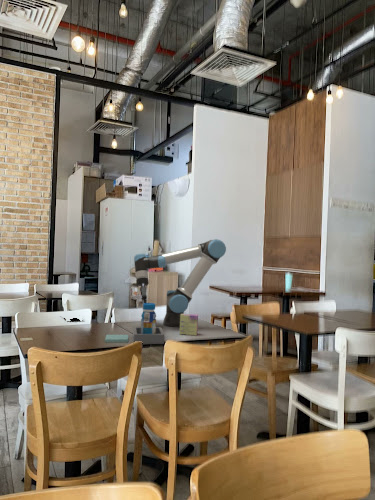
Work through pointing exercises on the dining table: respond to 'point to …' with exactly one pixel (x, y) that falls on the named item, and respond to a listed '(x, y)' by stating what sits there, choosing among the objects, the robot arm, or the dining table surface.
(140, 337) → the gray rectangular frame
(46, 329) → the dining table surface
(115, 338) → the board
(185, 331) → the box
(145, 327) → the beverage bottle
